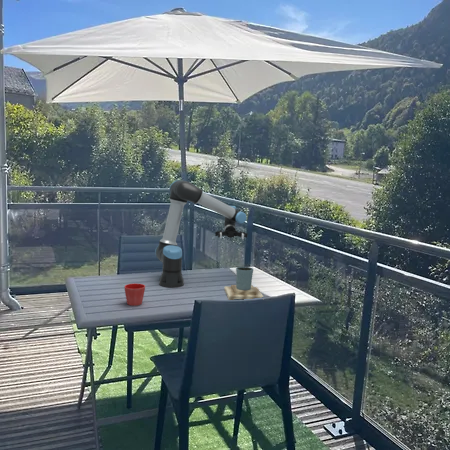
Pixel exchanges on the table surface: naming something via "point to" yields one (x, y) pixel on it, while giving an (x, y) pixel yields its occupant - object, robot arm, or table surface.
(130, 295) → the flower pot
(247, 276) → the blue-grey embossed cup
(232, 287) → the stepped square base
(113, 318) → the table surface
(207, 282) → the table surface
